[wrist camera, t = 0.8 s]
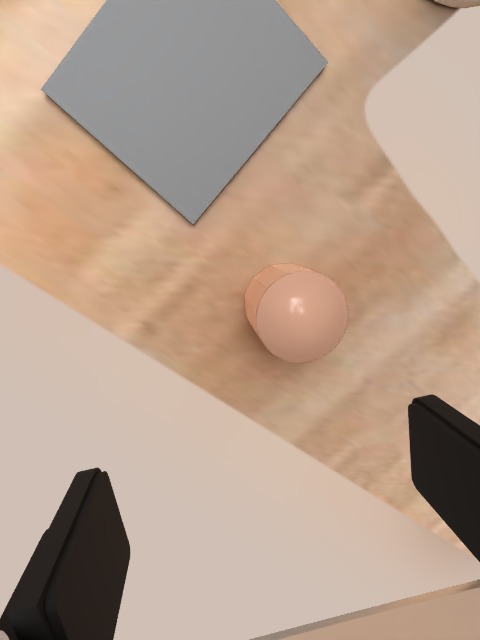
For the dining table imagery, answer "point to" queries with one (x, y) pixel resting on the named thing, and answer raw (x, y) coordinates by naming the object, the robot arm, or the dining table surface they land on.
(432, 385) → the dining table surface
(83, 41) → the slate mat
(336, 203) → the dining table surface
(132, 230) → the dining table surface
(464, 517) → the robot arm
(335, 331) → the peach domed cylinder
